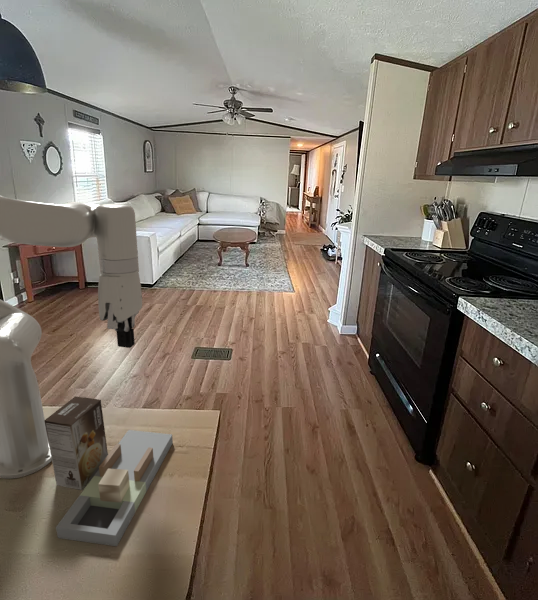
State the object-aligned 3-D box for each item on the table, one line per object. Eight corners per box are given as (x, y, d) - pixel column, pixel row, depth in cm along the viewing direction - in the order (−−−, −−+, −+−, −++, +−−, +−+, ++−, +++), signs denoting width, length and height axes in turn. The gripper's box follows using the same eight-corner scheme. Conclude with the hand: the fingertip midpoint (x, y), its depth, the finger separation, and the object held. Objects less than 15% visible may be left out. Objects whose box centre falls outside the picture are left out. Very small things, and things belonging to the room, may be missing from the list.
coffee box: (84, 455, 86) (75, 394, 81) (109, 460, 84) (102, 398, 79) (54, 485, 77) (43, 419, 72) (82, 491, 76) (72, 424, 71)
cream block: (100, 500, 71) (98, 484, 70) (110, 484, 75) (108, 468, 73) (121, 502, 71) (119, 485, 69) (129, 485, 74) (128, 469, 73)
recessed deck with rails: (57, 537, 66) (53, 516, 65) (129, 438, 92) (127, 421, 90) (116, 546, 65) (114, 524, 63) (172, 443, 91) (171, 425, 89)
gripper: (122, 257, 85) (128, 331, 91) (79, 272, 71) (90, 358, 77) (153, 259, 84) (157, 334, 90) (115, 275, 70) (123, 363, 76)
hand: (126, 345), depth 83 cm, fingers closed
